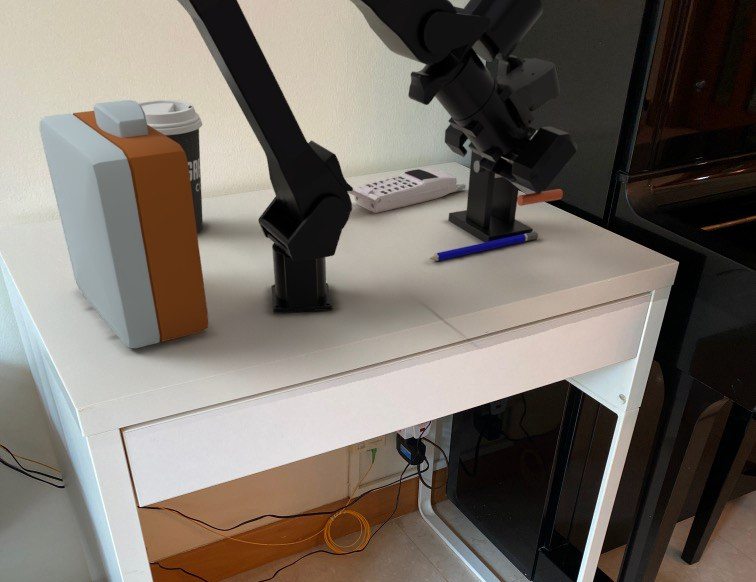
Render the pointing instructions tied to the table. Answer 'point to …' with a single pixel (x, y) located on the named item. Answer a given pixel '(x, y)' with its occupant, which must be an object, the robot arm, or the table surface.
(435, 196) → the mobile phone
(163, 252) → the alarm clock
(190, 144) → the coffee cup
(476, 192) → the switch bracket
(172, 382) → the table surface
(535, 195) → the switch lever
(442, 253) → the pencil
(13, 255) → the table surface
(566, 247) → the table surface
